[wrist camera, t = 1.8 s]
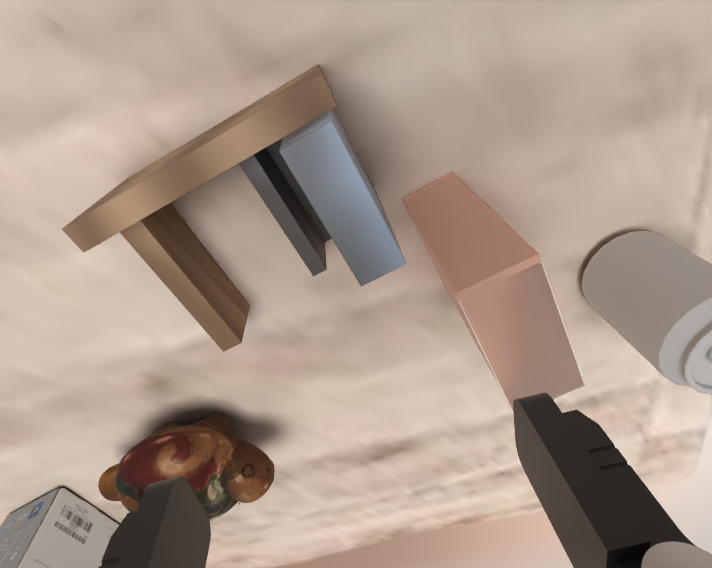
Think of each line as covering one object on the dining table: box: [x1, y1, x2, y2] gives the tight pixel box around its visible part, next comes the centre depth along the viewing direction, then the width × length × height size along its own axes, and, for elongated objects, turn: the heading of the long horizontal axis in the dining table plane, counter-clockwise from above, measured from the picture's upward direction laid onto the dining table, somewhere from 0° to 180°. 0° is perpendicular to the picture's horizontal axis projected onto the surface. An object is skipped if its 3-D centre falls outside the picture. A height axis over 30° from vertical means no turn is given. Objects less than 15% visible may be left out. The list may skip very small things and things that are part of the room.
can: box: [581, 231, 712, 395], centre depth 32 cm, size 8×8×12 cm
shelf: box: [62, 65, 406, 352], centre depth 27 cm, size 15×12×12 cm
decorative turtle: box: [98, 413, 274, 521], centre depth 39 cm, size 10×15×8 cm, turn 105°
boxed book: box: [402, 172, 586, 415], centre depth 29 cm, size 4×9×14 cm, turn 28°
